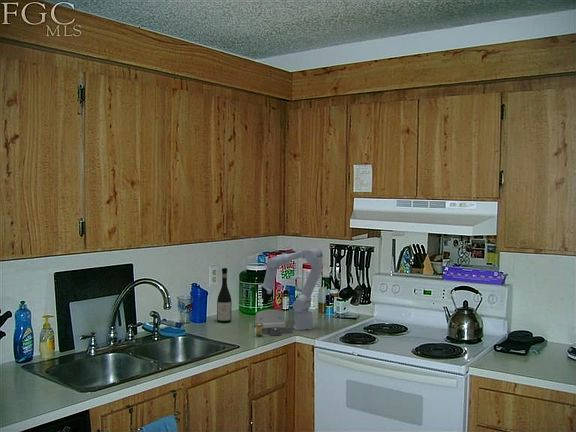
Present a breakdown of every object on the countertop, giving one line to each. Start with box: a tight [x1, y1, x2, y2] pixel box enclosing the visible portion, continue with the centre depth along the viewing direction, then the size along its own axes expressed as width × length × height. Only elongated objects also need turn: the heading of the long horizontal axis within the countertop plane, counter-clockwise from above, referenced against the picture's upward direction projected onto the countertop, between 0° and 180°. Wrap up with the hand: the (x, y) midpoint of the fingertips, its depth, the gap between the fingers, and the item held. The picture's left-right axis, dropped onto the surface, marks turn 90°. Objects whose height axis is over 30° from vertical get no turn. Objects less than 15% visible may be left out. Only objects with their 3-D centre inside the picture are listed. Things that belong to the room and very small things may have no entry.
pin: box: [254, 323, 263, 338], centre depth 281 cm, size 4×4×6 cm
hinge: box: [254, 309, 287, 328], centre depth 302 cm, size 17×5×10 cm, turn 105°
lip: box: [262, 326, 294, 337], centre depth 284 cm, size 19×6×3 cm, turn 100°
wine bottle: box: [216, 267, 233, 324], centre depth 310 cm, size 8×8×30 cm
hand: (264, 301), depth 309 cm, fingers open, 7 cm apart
